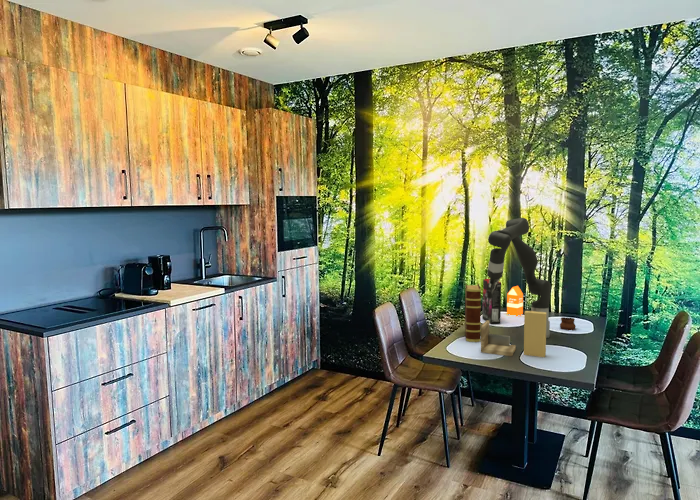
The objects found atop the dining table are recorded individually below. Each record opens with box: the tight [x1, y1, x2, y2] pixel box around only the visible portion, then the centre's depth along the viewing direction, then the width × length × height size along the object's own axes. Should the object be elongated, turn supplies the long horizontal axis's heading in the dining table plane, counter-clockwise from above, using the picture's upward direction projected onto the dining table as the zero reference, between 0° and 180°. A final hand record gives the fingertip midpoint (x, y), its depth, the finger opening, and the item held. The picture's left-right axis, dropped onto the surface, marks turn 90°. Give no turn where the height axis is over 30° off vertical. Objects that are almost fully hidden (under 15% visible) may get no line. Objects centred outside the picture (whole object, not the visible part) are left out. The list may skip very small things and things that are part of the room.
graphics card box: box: [481, 278, 502, 325], centre depth 315 cm, size 17×7×27 cm, turn 5°
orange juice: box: [506, 285, 524, 317], centre depth 333 cm, size 8×9×20 cm
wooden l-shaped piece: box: [480, 320, 517, 357], centre depth 251 cm, size 16×14×14 cm
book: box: [523, 310, 547, 358], centre depth 242 cm, size 4×10×22 cm, turn 63°
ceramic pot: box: [555, 316, 576, 331], centre depth 294 cm, size 18×18×7 cm
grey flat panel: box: [488, 333, 511, 346], centre depth 255 cm, size 11×2×5 cm, turn 63°
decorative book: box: [464, 283, 482, 343], centre depth 278 cm, size 22×8×30 cm, turn 168°
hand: (492, 293), depth 251 cm, fingers open, 8 cm apart
